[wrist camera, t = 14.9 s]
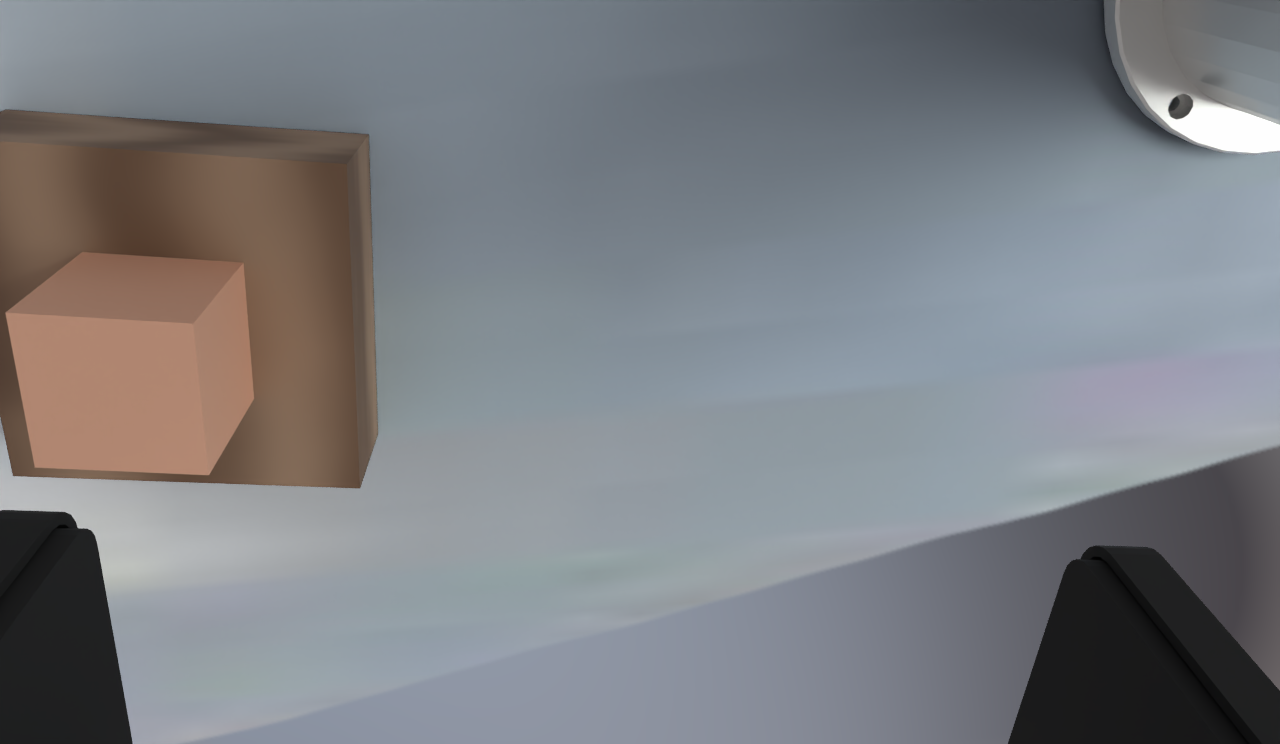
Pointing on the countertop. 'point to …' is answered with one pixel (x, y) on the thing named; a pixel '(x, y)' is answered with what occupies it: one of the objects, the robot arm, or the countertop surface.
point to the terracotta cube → (134, 363)
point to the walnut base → (219, 231)
